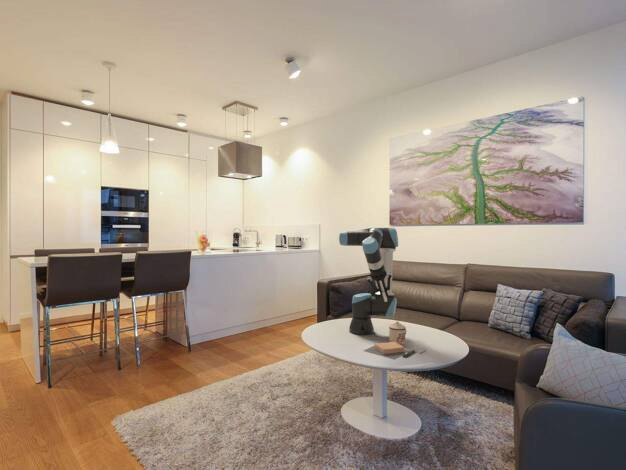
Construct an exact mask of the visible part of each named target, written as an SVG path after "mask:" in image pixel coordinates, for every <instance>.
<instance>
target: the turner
mask: <svg viewBox="0 0 626 470" xmlns="http://www.w3.org/2000/svg"><path fill="white" fill-rule="evenodd" d="M427 350H428V348H423V347H421V346H414V347H413V348H412V349H411V350H409V352H408V353H406V354H404V355H402V358H405V359H406V358H408V357H410V356H412V355H413V354H415V353H418V354H423V353H424V352H426V351H427Z"/></svg>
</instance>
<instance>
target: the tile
mask: <svg viewBox="0 0 626 470" xmlns="http://www.w3.org/2000/svg"><path fill="white" fill-rule="evenodd" d="M374 346H375V349H376V350H377V351H379V352H380V353H382V354H383V355H384V354H392V353H401V352H404V350H405V347H404V346H403V345H402V344H398V343H396V342H382V343H380V342H379V343H374Z"/></svg>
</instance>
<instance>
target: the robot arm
mask: <svg viewBox="0 0 626 470" xmlns="http://www.w3.org/2000/svg"><path fill="white" fill-rule="evenodd" d="M338 241H339V244H340V245H341V246H344V247H345V246H348V247H349V246H350V247H353V246H355V247H359V246H360V247H362V250H363V253H364V256H365V260H366V262H367V266H368V269H369V274H370V276H367V277H366V280H367V281H366V282H367V283H369V284H370V285H371V287H372V288H373V290H374V292H375V293H374V296H372V294H371V293H368V292H366V293H365V292H364V293H357V294H354V295H353V296H352V298H351V299H352V301H351V308H352V309H351V313H352V314H351V317H352V319H351V320H350V324H349V327H348V331H349V332H350V333H351V334H353V335H359V336H360V335H361V336H363V335H364V336H366V335H367V336H368V335H371V334H372V335H373V334H374V332H375V328H374V324H373V320H372V317H382V318H394V316H395V314H396V310H397V309H396V308H397V303H398V299H397V298H396V297H395V293H394V292H393V269H394V267H393V261H394V252H396V248H398V247H399V236H398V232H397V229H396V228H394V227H393V228H392V227H369V228H363V229H359V230H356V231H354V230H353V231H340V233H339V237H338ZM373 280H374V281H375V282H376V283H375V282H374V281H373Z"/></svg>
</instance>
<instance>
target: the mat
mask: <svg viewBox="0 0 626 470" xmlns="http://www.w3.org/2000/svg"><path fill="white" fill-rule="evenodd" d="M363 352H366V353H369V354H373V355H377V356H380V357H384V358H388V359H391V360H396V359H398V358H401V357H403V355H404V354H406V353H408V352H410V350H407V349H404V352H401V353H392V354H384V355H383V354H382V353H380V352H379V351H377V350H376V349H375V345H373V346H370V347H368V348H366V349H364V350H363Z"/></svg>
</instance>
